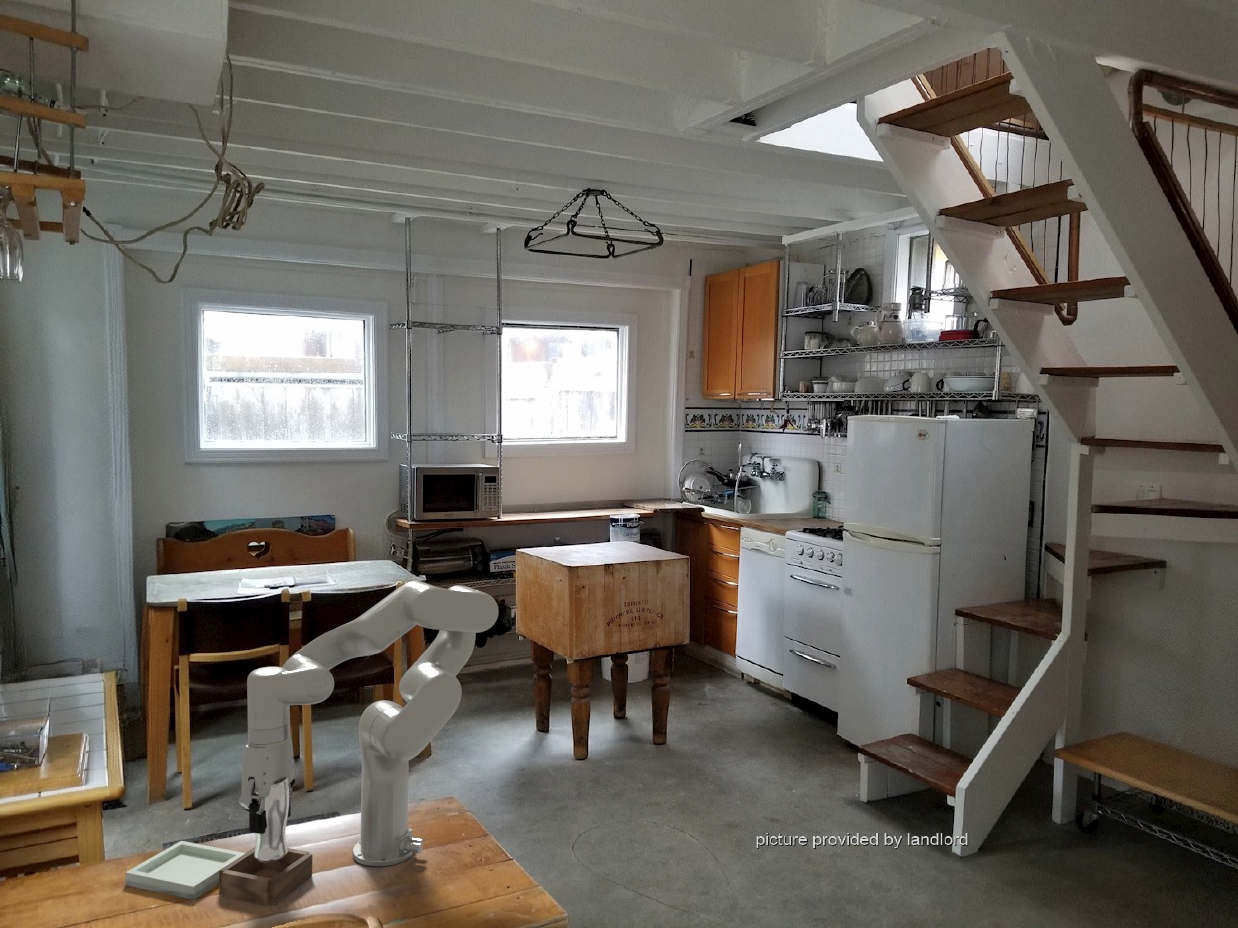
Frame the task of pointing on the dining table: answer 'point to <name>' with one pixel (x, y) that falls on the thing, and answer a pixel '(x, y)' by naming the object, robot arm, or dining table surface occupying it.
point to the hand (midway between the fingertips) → (270, 823)
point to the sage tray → (182, 870)
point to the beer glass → (273, 824)
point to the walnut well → (262, 890)
